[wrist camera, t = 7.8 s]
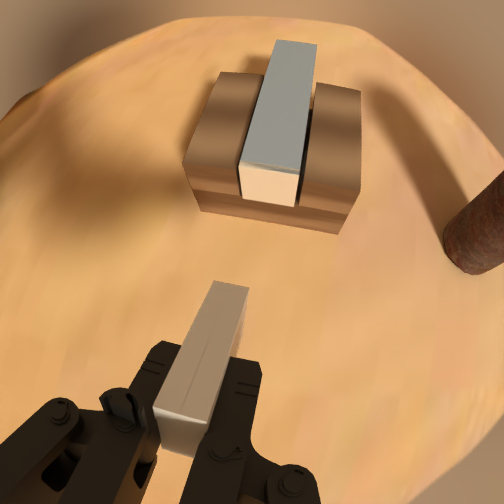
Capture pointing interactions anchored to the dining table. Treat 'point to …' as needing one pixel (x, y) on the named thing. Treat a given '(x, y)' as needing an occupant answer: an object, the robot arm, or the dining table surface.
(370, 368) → the dining table surface
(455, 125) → the dining table surface
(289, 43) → the peg
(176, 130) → the dining table surface
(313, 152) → the guide block
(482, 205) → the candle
